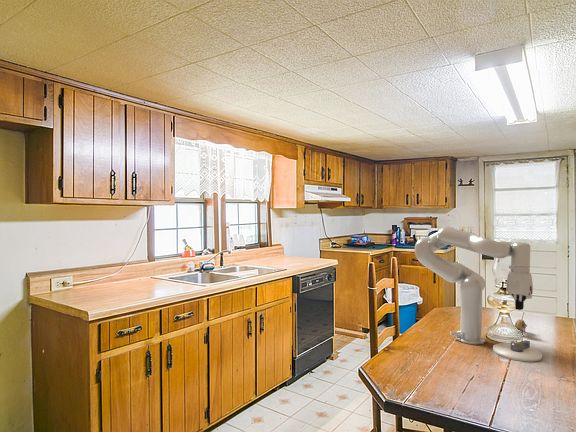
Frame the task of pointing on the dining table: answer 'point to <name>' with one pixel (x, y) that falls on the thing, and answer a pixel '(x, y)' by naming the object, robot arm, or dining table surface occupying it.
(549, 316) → the dining table surface
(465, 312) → the robot arm
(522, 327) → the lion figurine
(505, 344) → the plate
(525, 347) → the dark gray block
